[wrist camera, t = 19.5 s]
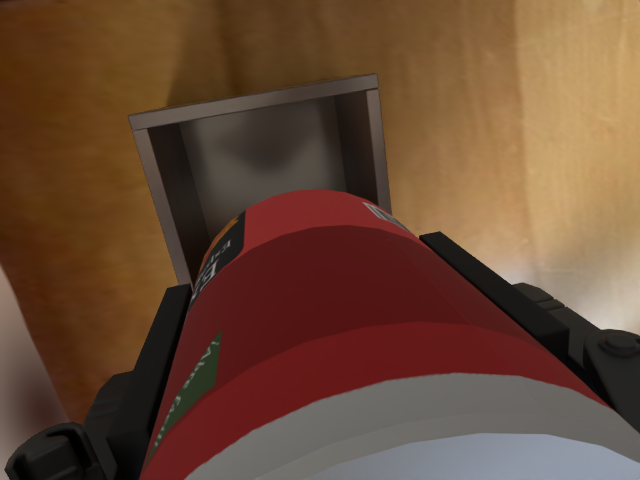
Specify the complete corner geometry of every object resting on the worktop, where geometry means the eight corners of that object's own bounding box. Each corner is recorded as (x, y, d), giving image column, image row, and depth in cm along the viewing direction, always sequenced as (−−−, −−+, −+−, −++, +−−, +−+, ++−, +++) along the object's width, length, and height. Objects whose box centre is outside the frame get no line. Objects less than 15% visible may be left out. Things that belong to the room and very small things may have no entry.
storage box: (165, 106, 32) (126, 115, 22) (339, 77, 34) (377, 72, 24) (209, 268, 37) (193, 335, 27) (360, 237, 38) (399, 290, 28)
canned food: (186, 187, 14) (3, 471, 4) (423, 177, 15) (808, 371, 5) (209, 385, 16) (140, 887, 6) (410, 364, 17) (640, 756, 7)
